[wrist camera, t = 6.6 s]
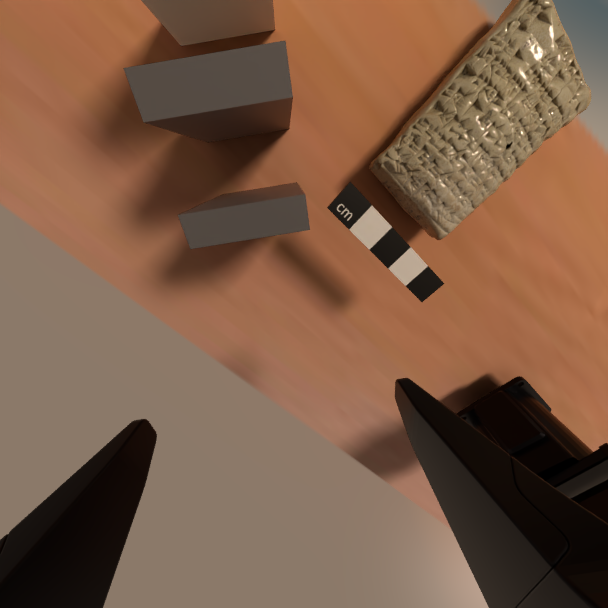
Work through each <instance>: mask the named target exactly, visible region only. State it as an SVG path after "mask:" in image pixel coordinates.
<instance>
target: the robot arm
mask: <svg viewBox="0 0 608 608" xmlns="http://www.w3.org/2000/svg"><path fill="white" fill-rule="evenodd" d="M395 399H396V403H397V406H398V408H399V411H400V414H401V417H402V420H403V422H404V425H405V428H406V431H407V434H408V437H409V439H410V442H411V445H412V447H413V449H414V451H415V453H416V456H417V458H418V460H419V462H420V464H421V466H422V468H423V470H424V472H425V474H426V477H427V479H428V481H429V483H430V485H431V487H432V489H433V491H434V493H435V495H436V498H437V500H438V502H439V504H440V506H441V508H442V510H443V512H444V514H445V516H446V518H447V521H448V523H449V525H450V527H451V529H452V531H453V533H454V535H455V537H456V539H457V542H458V544H459V546H460V548H461V550H462V552H463V554H464V556H465V558H466V560H467V563H468V564H469V567H470V569H471V571H472V573H473V575H474V577H475V579H476V581H477V583H478V585H479V588H480V590H481V592H482V594H483V596H484V598H485V600H486V602H487V604H488V607H489V608H608V443H605V444H603V445H601V446H600V447H599V448H600V449H598V450H596V451H595V452H593V451H592V450H591V449H590V448H588V447H587V446H586V445H585V444H584V443H583V442H582V441H581V440H580V439H579V438H578V437H577V436H575V435H574V434H573V433H572V432H571V431H570V430H569V429H568V428H567V427H566V426H565V425H564V424H563V423H561V422H560V421H559V420H558V419H557V418H556V417H555V416H554V415H553V414H552V413H551V408H550V407H549V406H548V405H547V403H546V402H545V401H544V400H543V399H542V398H541V397H540V396H539V394H538V393H537V392H536V391H535V390H534V389H533V388H532V387H531V385H530V384H529V383H528V382H527V381H526V380H525V379H524V378H523V377H516V378H514V379H512V380H511V381H509V382H507V383H506V384H504V385H502V386H501V387H499V388H498V389H496V390H494V391H493V392H491V393H489V394H488V395H486V396H484V397H483V398H481V399H480V400H478V401H476V402H475V403H473V404H471V405H470V406H468V407H467V408H465V409H463V410H462V411H460V412H458V413H457V414H455V413H454V412H452V411H451V410H450V409H448V408H447V407H446V406H445V405H443V404H442V403H441V402H439V401H438V400H437V399H435V398H434V397H433V396H431V395H430V394H429V393H427V392H426V391H425V390H423V389H422V388H421V387H419V386H418V385H417V384H415V383H414V382H413V381H412V380H410V379H409V378H402V379H397V380H396V382H395ZM156 438H157V434H156V431H155V430H154V429H153V427H152V426H151V424H150V423H149V421H148V420H146V419H141V420H135V421H133V422H131V423H130V424H129V425H128V426H127V427H126V428H125V429H123V430H122V431H121V432H120V433H119V434H118V435H117V436H116V437H114V438H113V439H112V440H111V441H110V442H109V443H108V444H107V445H106V446H104V447H103V448H102V449H101V450H100V451H99V452H98V453H97V454H96V455H94V456H93V457H92V458H91V459H90V460H89V461H88V462H87V463H86V464H85V465H83V466H82V467H81V468H80V469H79V470H78V471H77V472H76V473H74V474H73V475H72V476H71V477H70V478H69V479H68V480H67V481H66V482H65V483H63V484H62V485H61V486H60V487H59V488H58V489H57V490H55V491H54V492H53V493H52V494H51V495H50V496H49V497H48V498H47V499H46V500H44V501H43V502H42V503H41V504H40V505H39V506H38V507H37V508H35V509H34V510H33V511H32V512H31V513H30V514H29V515H28V516H27V517H25V518H24V519H23V520H22V521H21V522H20V523H19V524H18V525H16V526H15V527H14V528H13V529H12V530H11V531H10V532H9V534H7V535H5V536H4V537H3V538H2V539H1V540H0V608H103V606H104V603H105V600H106V597H107V594H108V592H109V589H110V586H111V583H112V580H113V577H114V574H115V571H116V568H117V565H118V563H119V560H120V557H121V554H122V551H123V548H124V545H125V542H126V539H127V537H128V534H129V531H130V527H131V525H132V522H133V519H134V516H135V513H136V510H137V507H138V505H139V502H140V499H141V496H142V493H143V490H144V487H145V483H146V480H147V476H148V472H149V468H150V464H151V460H152V456H153V452H154V448H155V444H156Z"/></svg>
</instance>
